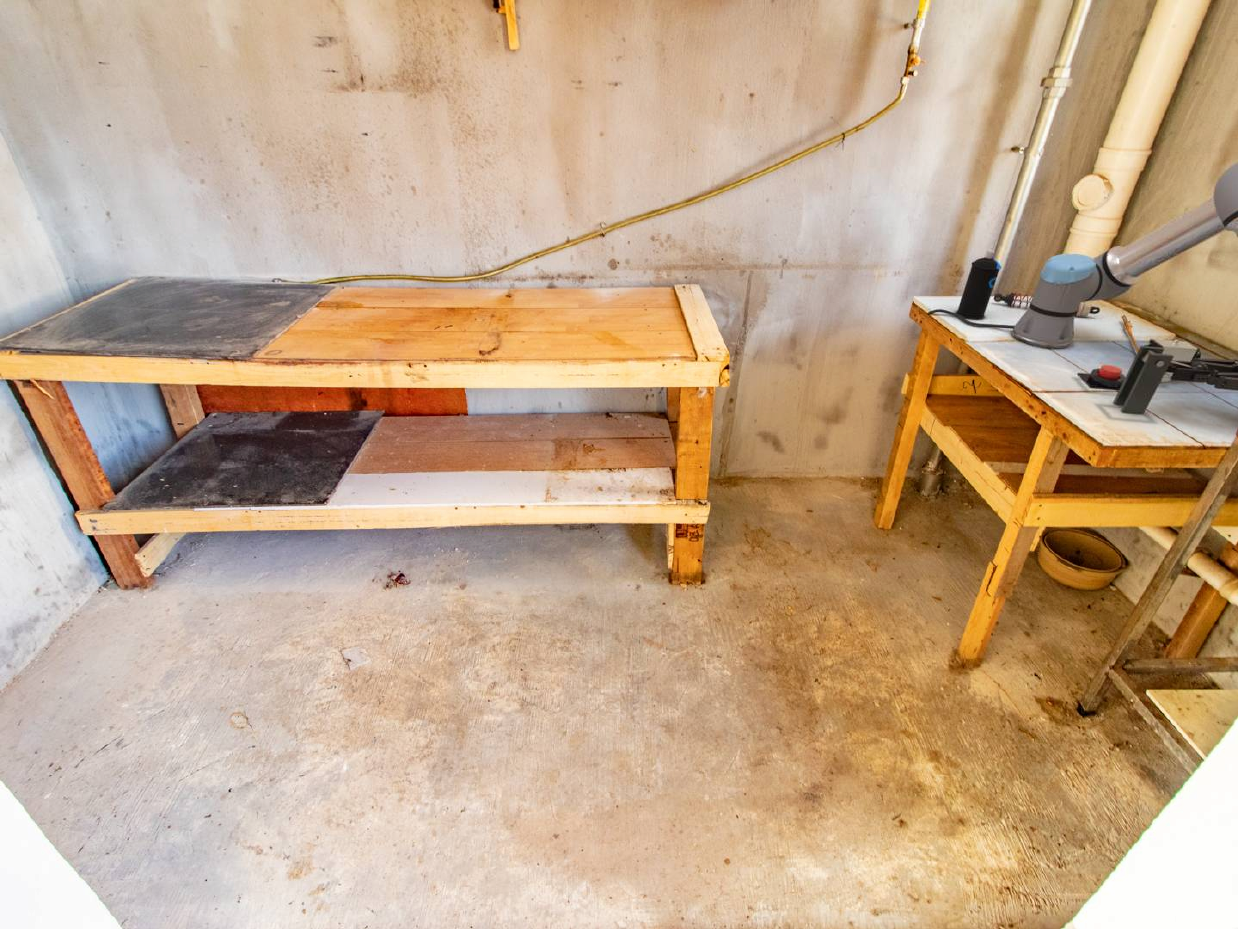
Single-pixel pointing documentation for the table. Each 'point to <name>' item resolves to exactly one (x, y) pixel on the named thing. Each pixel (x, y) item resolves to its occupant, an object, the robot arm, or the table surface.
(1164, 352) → the pneumatic valve
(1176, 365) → the lever
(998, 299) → the shock absorber
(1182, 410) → the table surface
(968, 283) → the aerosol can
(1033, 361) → the table surface
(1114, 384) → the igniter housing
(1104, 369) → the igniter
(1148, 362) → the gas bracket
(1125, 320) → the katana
